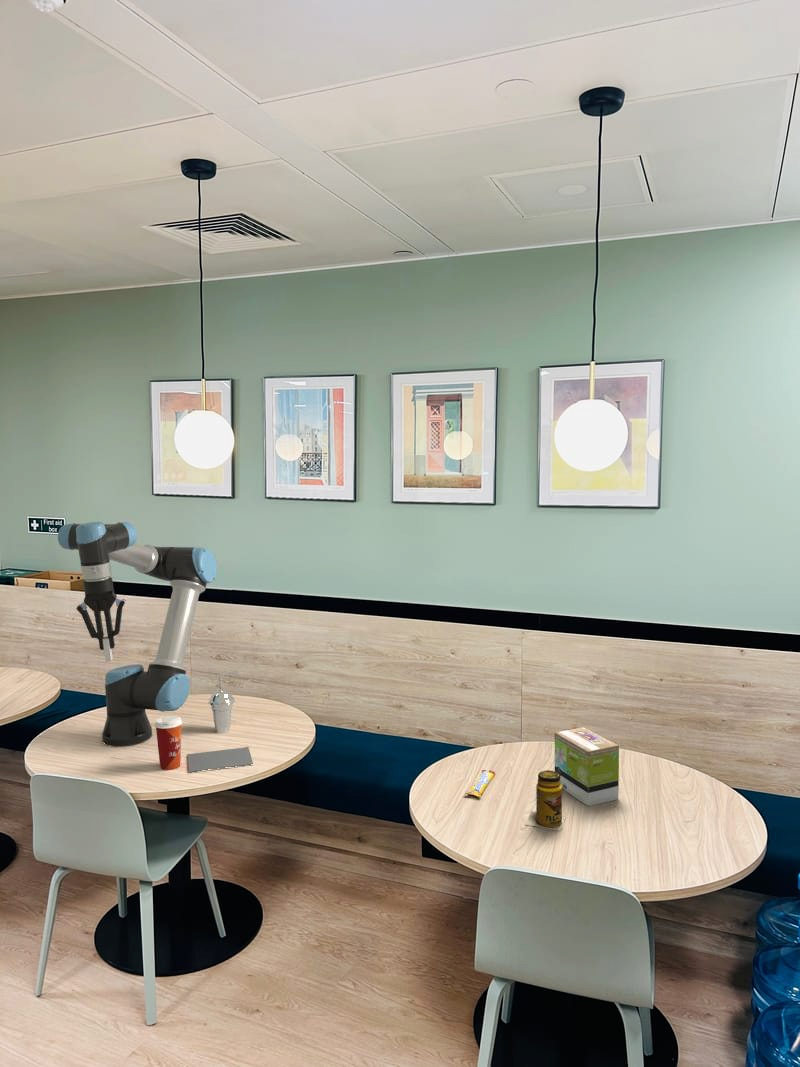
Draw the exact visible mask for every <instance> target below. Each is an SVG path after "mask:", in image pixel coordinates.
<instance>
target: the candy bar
mask: <svg viewBox="0 0 800 1067" xmlns="http://www.w3.org/2000/svg"><path fill="white" fill-rule="evenodd" d="M495 776H496V772H495V771H493V770H490V769H489V770H486V769H482V770H481V775H479V777H478V778H477V780H476V781H475V783H474V784H473V785H472V787H471V788H470V789H469V790H468V791H467V792H466V793H464V795H468V796H475V797H477V798H478V797H479V798H482V795H483V794H484V793H485V791H486V789H487V788H488V786H489V785H490V783H491V782H492V780H493V779H494V777H495Z"/></svg>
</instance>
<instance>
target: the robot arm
mask: <svg viewBox="0 0 800 1067" xmlns="http://www.w3.org/2000/svg"><path fill="white" fill-rule="evenodd" d="M137 540H138V532H137V530H136V528H135V526H134V525H133V524H132V523H130V522H127V521H122V522H117V523H104V522H102V521H93V522H92V521H91V522H85V523H74V522H73V523H67V524H64V525H62V526H61V527H60V528H59V530H58V533H57V541H58V544H59V545H60V547H61V548H63V549H65V550H71V551H74V550H76V551H78V555H79V562H80V570H81V576H82V579H83V580H84V581H83V582H82V583H83V590H84V598H83V602H82V603H80V604H78V605H77V607H76V608H75V609H76V611H77V612H78V613H79V614H81V618H82V619H83V623H85V626H86V629H87V631H88V633H89V636H90V638H92V639H97V640H98V646H99V649H100V651H103V653H104V660H105V663H108V662H112V661H113V659H114V657H113V650H112V649H114V648H115V646H116V645H115V636H117V635H119V634H120V632H121V625H122V624H121V623H122V614H123V607H124V605H125V603H126V602H127V600H126V599H124V598H119V597H117V594H116V593H115V588H114V582H113V577H111V576H112V566H111V561H113V562H116V563H120V564H121V565H122V564H123V565H125V566H128V567H132V568H134V569H135V571H137V572H138V573H139V574H143V575H147V576H149V577H152V578H155V579H158V580H161V581H166V582H169V584H170V586H171V587H172V592H171V595H170V596H171V597H170V601H169V604H168V609H167V612H166V616H165V619H164V625H163V628H162V631H161V636H160V640H159V644H158V648H157V651H156V652H157V653H156V656H155V659H154V660H153V661H151V662H150V663H149V664H148V667H147V671H144V670H145V667H144V665H142V664H130V665H124V666H123V665H122V666H120V667H115V668H113V669H111V670H109V671H107V673H106V674H105V677H104V678H105V682H104V688H105V689H104V690H105V703H106V706H105V707H106V720H105V724H104V727H103V730H102V732H101V740H102V741H103V742H104V743H105V744H104V743H103V742H102V743H103V744H104V745H106V744H107V745H106V746H109V745H111V746H110V747H127V746H133V745H137V744H141V743H144V742H146V741H148V740H150V739H151V738H152V736H153V728H152V725H151V723H150V720H149V717H148V715H147V713H146V710H149V711H150V710H152V711H159V712H174V711H177V710H179V709H180V708H182V707H183V705H184V704H185V703H186V701H187V700H188V697H189V694H190V692H191V691H190V690H191V684H190V678H189V677H188V676H187V675H186V674H187V670H186V668H185V667H184V661H185V656H186V652H187V648H188V644H189V640H190V635H191V632H192V628H193V627H192V626H193V624H194V623H193V622H194V619H195V613H196V610H197V607H198V601H199V597H200V595H201V593H204V592H205V591H206V588H207V584H210V583H212V582H214V581H215V580H216V577H217V573H218V565H217V560H216V557H215V555H214V553H213V552H212V550H210V549H208V548H206V547H200V546H193V547H191V546H189V547H188V546H153V545H150V544H144V545H142V544H139V543H136V542H137ZM114 603H115V606H116V607H117V608H116V614H115V622H114V629H113V620H112V614H111V608H112V607H113V606H114ZM88 608H89V609H90V610H91V611H93V614H94V618H95V619H94V620H95V626H96V628H95V626H94V623H93V621H92V619H91V616H90V614H89V612H88V610H87V609H88ZM101 612H103V614H104V621H105V627H106V635H107V636H105V633H104V628H103V627H104V626H103V620H102V613H101Z"/></svg>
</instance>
